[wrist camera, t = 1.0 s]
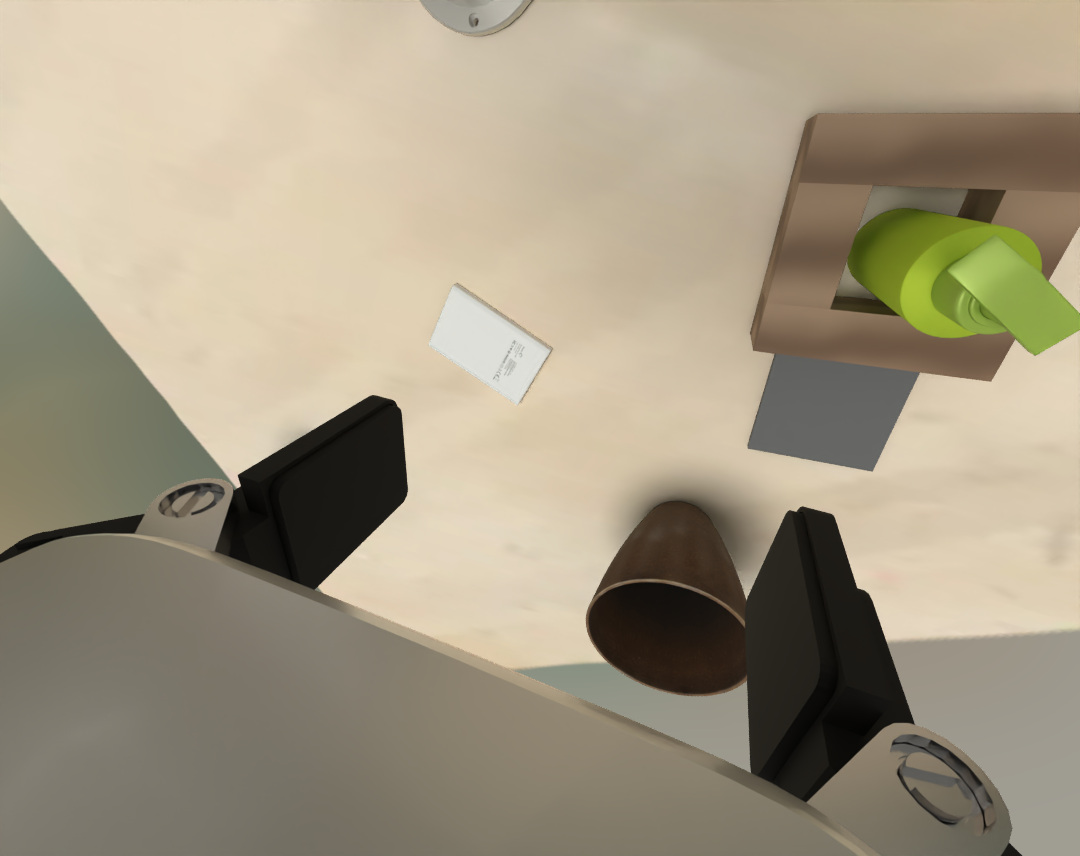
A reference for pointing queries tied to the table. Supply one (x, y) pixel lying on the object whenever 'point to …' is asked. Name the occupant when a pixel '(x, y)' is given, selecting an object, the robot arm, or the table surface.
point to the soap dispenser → (961, 278)
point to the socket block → (914, 161)
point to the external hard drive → (488, 344)
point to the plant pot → (672, 606)
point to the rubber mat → (829, 410)
